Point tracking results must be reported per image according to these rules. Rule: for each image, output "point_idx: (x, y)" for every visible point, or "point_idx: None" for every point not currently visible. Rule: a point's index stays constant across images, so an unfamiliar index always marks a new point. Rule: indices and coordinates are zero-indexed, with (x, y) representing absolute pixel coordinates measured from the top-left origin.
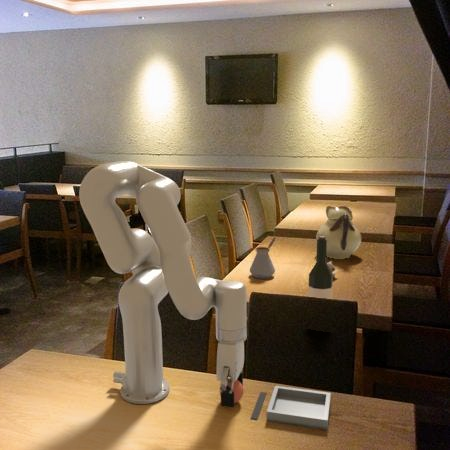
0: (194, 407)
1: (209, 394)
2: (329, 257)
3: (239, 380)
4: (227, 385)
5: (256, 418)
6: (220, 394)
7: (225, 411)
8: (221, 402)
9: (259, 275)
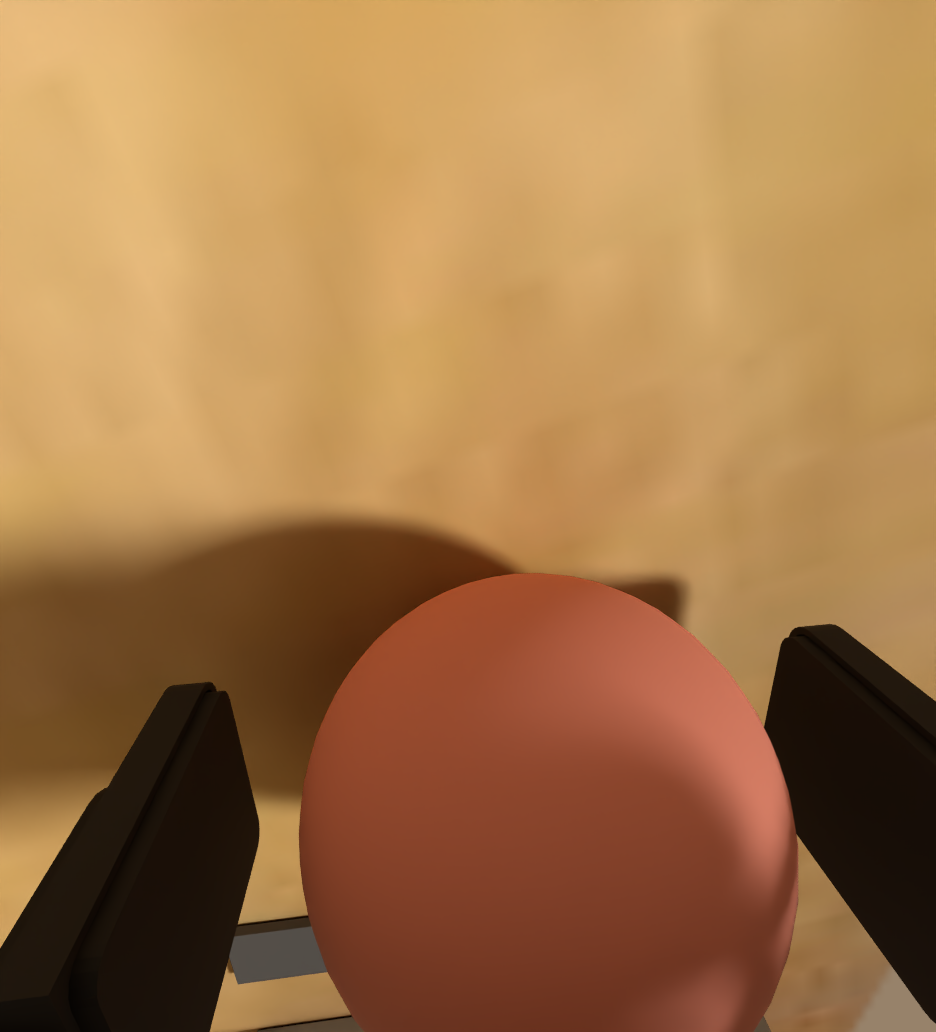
0: (95, 125)
1: (625, 274)
2: None
3: (850, 869)
4: (393, 1004)
5: (241, 977)
6: (382, 649)
7: (240, 666)
8: (148, 733)
9: None
